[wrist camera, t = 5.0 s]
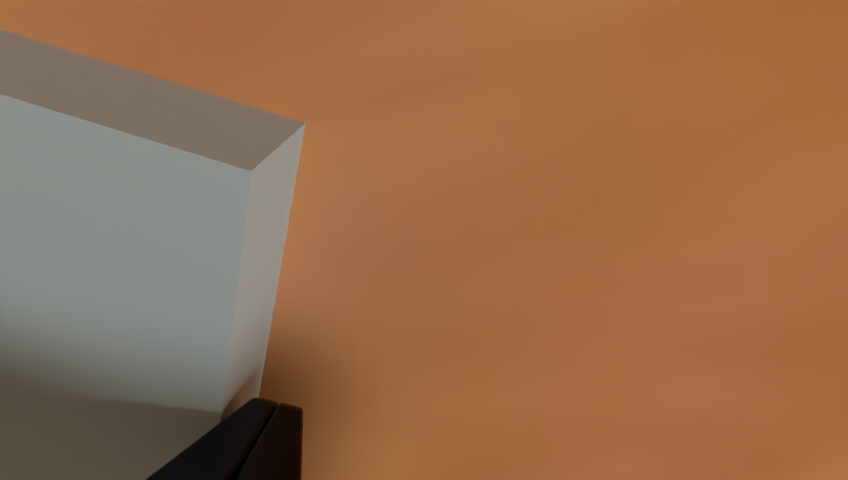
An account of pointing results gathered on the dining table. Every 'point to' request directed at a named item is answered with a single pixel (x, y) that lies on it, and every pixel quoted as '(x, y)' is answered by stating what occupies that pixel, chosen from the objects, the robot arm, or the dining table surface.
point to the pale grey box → (130, 261)
